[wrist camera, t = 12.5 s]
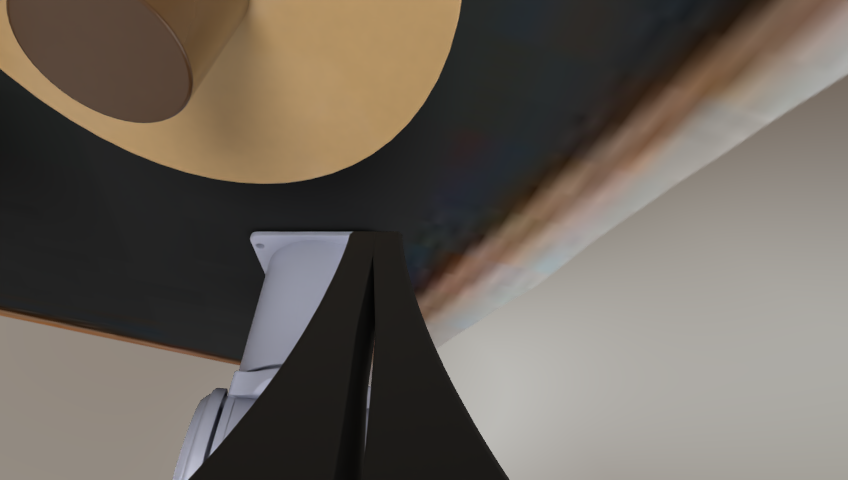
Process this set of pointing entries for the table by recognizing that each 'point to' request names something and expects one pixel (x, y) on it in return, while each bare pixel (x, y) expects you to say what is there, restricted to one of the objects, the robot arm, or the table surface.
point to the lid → (233, 76)
